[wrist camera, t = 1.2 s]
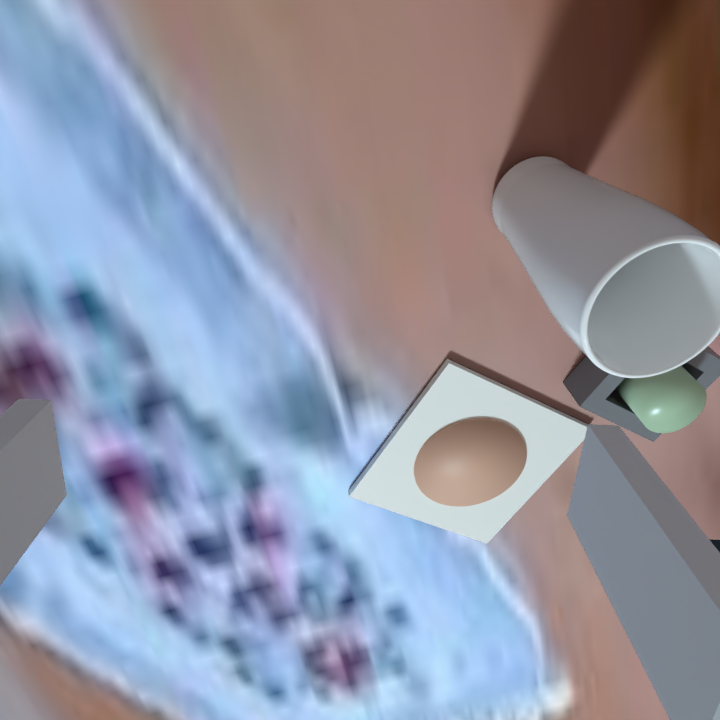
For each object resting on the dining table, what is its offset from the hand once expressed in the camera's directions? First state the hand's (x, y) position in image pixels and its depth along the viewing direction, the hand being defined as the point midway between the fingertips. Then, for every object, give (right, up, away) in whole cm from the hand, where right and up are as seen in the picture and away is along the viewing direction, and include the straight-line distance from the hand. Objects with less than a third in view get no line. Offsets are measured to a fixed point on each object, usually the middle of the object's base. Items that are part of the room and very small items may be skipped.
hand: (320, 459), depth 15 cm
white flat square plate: (+10, -5, +33) cm, 35 cm away
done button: (+21, +2, +29) cm, 36 cm away
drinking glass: (+11, +13, +23) cm, 28 cm away
